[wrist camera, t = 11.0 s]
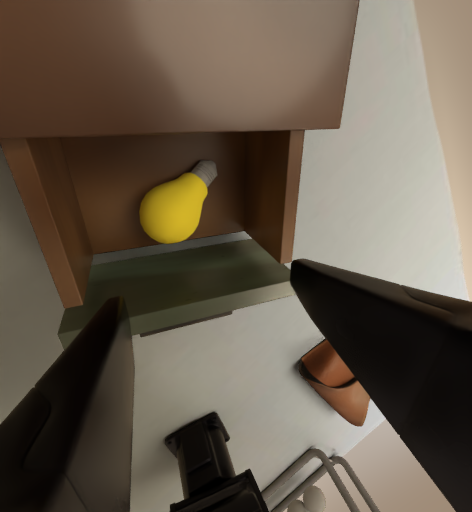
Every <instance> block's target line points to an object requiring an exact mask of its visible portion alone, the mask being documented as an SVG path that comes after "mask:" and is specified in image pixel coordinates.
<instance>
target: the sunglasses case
mask: <svg viewBox="0 0 472 512" xmlns="http://www.w3.org/2000/svg"><path fill="white" fill-rule="evenodd" d="M299 372H300V374H301V375H302V376H303V378H304V379H305V380H306V381H307V382H308V383H309V384H310V385H311V386H312V387H313V388H314V389H315V391H316V392H317V393H318V394H319V395H320V396H321V397H322V398H323V399H324V400H325V401H326V402H327V403H328V404H329V405H330V406H331V407H332V408H333V409H334V410H335V411H336V412H338V414H340V415H341V416H342V417H343V418H344V419H346V420H347V421H348V422H349V423H351V424H353V425H355V426H362V425H363V423H364V421H365V418H366V415H367V410H368V405H369V401H370V396H369V395H368V394H367V392H366V391H365V390H364V388H363V387H362V386H361V384H360V383H359V382H358V380H357V379H356V378H355V377H354V375H353V374H352V373H351V371H350V370H349V369H348V367H347V366H346V365H345V363H344V362H343V361H342V359H341V358H340V357H339V355H338V354H337V353H336V351H335V350H334V349H333V347H332V346H331V345H330V343H329V342H328V341H327V339H325V340H324V341H322V342H321V343H320V344H318V345H317V346H316V347H314V348H313V349H312V350H310V351H309V352H308V353H307V354H305V355H304V356H303V357H302V358H301V360H300V362H299Z"/></svg>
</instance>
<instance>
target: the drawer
mask: <svg viewBox="0 0 472 512" xmlns="http://www.w3.org/2000/svg"><path fill="white" fill-rule="evenodd" d="M304 132H305V130H283V131H251V132H218V133H185V134H152V135H120V136H87V137H54V138H22V139H0V145H1V147H2V150H3V152H4V155H5V158H6V160H7V163H8V165H9V168H10V170H11V173H12V175H13V178H14V181H15V183H16V186H17V188H18V191H19V193H20V196H21V199H22V201H23V204H24V206H25V209H26V211H27V214H28V216H29V219H30V222H31V224H32V227H33V229H34V232H35V234H36V237H37V240H38V242H39V245H40V247H41V250H42V252H43V255H44V257H45V260H46V263H47V265H48V268H49V270H50V273H51V275H52V278H53V281H54V283H55V286H56V288H57V291H58V293H59V296H60V298H61V301H62V304H63V306H64V308H65V311H64V314H63V318H62V321H61V324H60V328H59V331H58V337H59V339H60V342H61V344H62V346H63V349H64V350H65V349H66V348H67V347H68V345H69V344H70V343H71V342H72V341H73V340H74V338H75V337H76V336H77V335H78V334H79V332H80V331H81V330H82V329H83V328H84V327H85V325H86V324H87V323H88V322H89V321H90V319H91V318H92V317H93V316H94V315H95V314H96V312H97V311H98V310H99V309H100V308H101V307H102V305H103V304H104V303H105V302H106V301H107V300H108V299H109V298H112V297H117V296H123V297H124V299H125V303H126V307H127V311H128V315H129V319H130V326H131V335H136V334H140V337H144V336H148V335H152V334H156V333H160V332H164V331H168V330H172V329H176V328H180V327H183V326H187V325H191V324H195V323H199V322H203V321H207V320H211V319H215V318H219V317H223V316H226V315H230V314H232V310H236V309H240V308H244V307H248V306H252V305H256V304H260V303H264V302H268V301H272V300H276V299H280V298H284V297H288V296H292V295H296V293H295V292H294V290H293V288H292V287H291V284H290V271H291V270H290V269H288V268H287V267H286V266H285V265H284V263H289V262H292V253H293V243H294V233H295V223H296V213H297V203H298V193H299V183H300V173H301V162H302V152H303V142H304ZM200 160H207V161H210V160H211V161H213V162H214V163H215V164H216V170H217V177H215V179H214V180H213V181H212V183H211V184H210V185H209V186H208V187H207V192H208V194H207V195H206V197H205V199H204V201H203V204H202V210H201V215H200V220H199V224H198V226H197V228H196V229H195V231H194V233H192V234H191V235H190V236H189V237H188V238H187V239H185V240H190V239H197V238H203V237H209V236H216V235H222V234H229V233H235V232H242V231H245V232H246V233H247V234H248V235H249V236H250V237H251V238H253V239H247V240H241V241H235V242H229V243H223V244H217V245H211V246H205V247H199V248H193V249H187V250H182V251H176V252H170V253H164V254H158V255H152V256H146V257H140V258H134V259H128V260H122V261H116V262H110V263H104V264H98V265H92V260H93V255H94V254H100V253H106V252H113V251H119V250H126V249H132V248H139V247H145V246H151V245H158V244H164V243H160V242H158V241H156V240H154V239H152V238H151V237H150V236H149V235H148V234H147V233H146V232H145V231H144V229H143V227H142V225H141V223H140V214H139V210H140V206H141V202H142V200H143V199H144V197H145V195H146V194H147V193H148V192H149V191H150V190H152V189H153V188H154V187H156V186H159V185H161V184H164V183H167V182H169V181H172V180H175V179H177V178H179V177H180V176H181V175H182V174H184V173H191V171H192V170H194V167H195V166H196V165H197V164H198V163H199V162H200ZM183 241H184V240H183ZM91 265H92V266H91Z"/></svg>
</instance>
